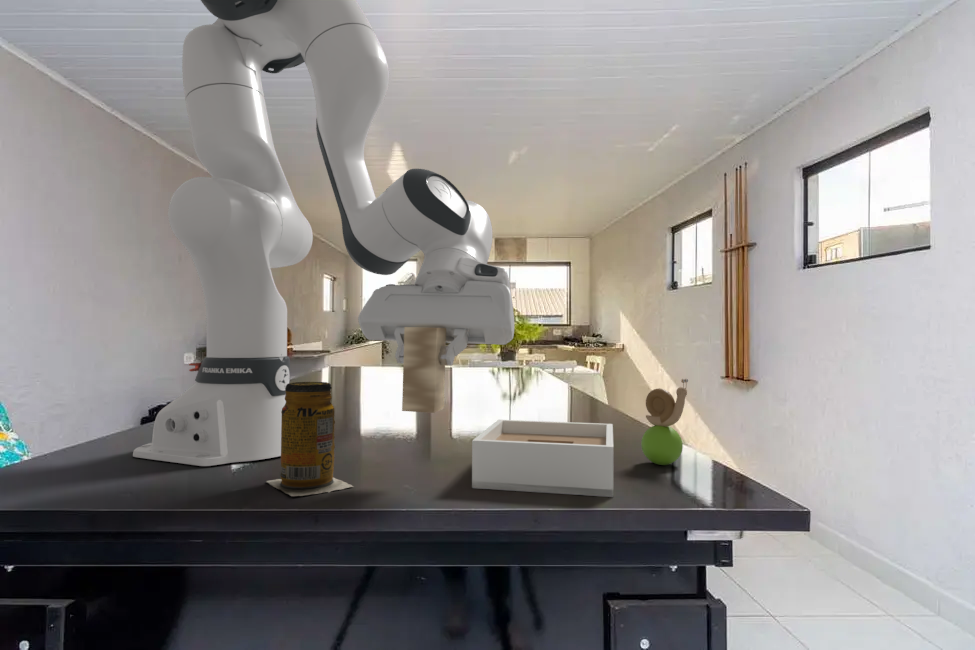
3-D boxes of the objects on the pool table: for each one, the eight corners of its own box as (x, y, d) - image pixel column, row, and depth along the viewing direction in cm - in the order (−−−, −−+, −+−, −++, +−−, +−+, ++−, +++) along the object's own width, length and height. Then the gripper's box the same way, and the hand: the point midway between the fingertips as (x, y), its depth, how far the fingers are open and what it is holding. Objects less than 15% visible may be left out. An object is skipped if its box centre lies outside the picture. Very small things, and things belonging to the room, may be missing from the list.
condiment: (323, 473, 73) (324, 379, 73) (353, 488, 66) (354, 384, 66) (265, 483, 68) (266, 382, 68) (291, 499, 62) (292, 388, 62)
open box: (472, 488, 66) (472, 440, 66) (498, 458, 82) (498, 419, 82) (613, 497, 63) (613, 446, 63) (612, 463, 78) (612, 423, 79)
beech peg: (402, 410, 68) (404, 327, 68) (413, 406, 72) (415, 327, 72) (434, 412, 67) (436, 327, 67) (443, 408, 71) (446, 328, 71)
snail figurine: (675, 472, 74) (675, 379, 74) (633, 464, 79) (633, 376, 79) (696, 466, 77) (697, 377, 77) (655, 458, 82) (655, 374, 82)
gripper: (371, 267, 78) (335, 340, 69) (518, 269, 74) (502, 346, 65) (382, 301, 83) (350, 374, 73) (522, 305, 79) (508, 382, 69)
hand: (423, 361), depth 69 cm, fingers closed on beech peg, 4 cm apart
